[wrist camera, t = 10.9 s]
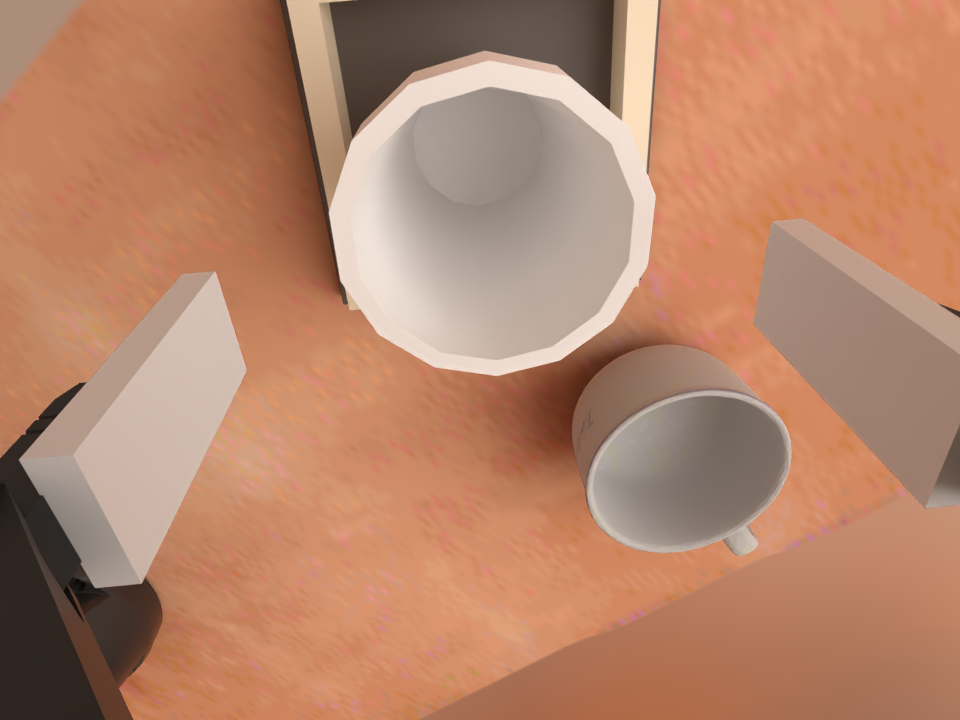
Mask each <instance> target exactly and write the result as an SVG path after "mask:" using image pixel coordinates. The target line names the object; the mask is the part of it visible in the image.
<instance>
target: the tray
mask: <svg viewBox="0 0 960 720" xmlns="http://www.w3.org/2000/svg"><path fill="white" fill-rule="evenodd" d="M280 2H281V7H282V12H283V17H284V21H285V26H286V31H287V36H288V41H289V45H290V50H291V55H292V60H293V65H294V69H295V74H296V79H297V84H298V89H299V93H300V98H301V103H302V108H303V113H304V117H305V122H306V127H307V132H308V137H309V141H310V146H311V151H312V156H313V161H314V165H315V170H316V175H317V180H318V185H319V189H320V194H321V199H322V204H323V209H324V213H325V218H326V223H327V228H328V232H329V237H330V242H331V247H332V252H333V256H334V261H335V266H336V271H337V276H338V280H339V285H340V290H341V295H342V300H343V304H348V305H349V310H361V309H360V308H359V307H358V305H357V304H356V302H355V301H354V300H353V298H352V297H351V295H350V294H349V293H348V291H347V290H346V288H345V287H344V286H343V284H342V283H341V281H340V276H339V270H338V264H337V258H336V253H335V247H334V241H333V235H332V229H331V223H330V217H329V210H330V207H331V204H332V201H333V197H334V194H335V191H336V188H337V185H338V182H339V179H340V175H341V172H342V169H343V166H344V163H345V160H346V157H347V153H348V150H349V147H350V144H351V141H352V139H353V137H354V136H355V134H356V132H357V131H358V129H359V127H360V126H361V124H362V123H363V122H364V121H365V120H366V119H367V118H368V117H369V116H370V115H371V114H372V113H373V112H374V111H375V110H376V109H377V108H378V107H379V106H380V105H381V104H382V103H383V102H384V101H385V100H386V99H387V98H388V97H389V96H390V95H391V94H392V93H393V92H394V91H395V90H396V89H397V88H398V87H399V86H400V85H401V84H402V83H403V82H404V81H405V80H406V79H407V78H408V77H409V76H410V75H411V74H412V73H413V72H415V71H419V70H422V69H425V68H429V67H432V66H435V65H439V64H442V63H445V62H448V61H452V60H455V59H458V58H462V57H465V56H468V55H472V54H475V53H478V52H482V51H489V52H494V53H499V54H504V55H508V56H513V57H518V58H523V59H528V60H532V61H537V62H542V63H547V64H552V65H557V66H558V67H559V68H560V69H561V70H563V71H564V72H565V73H566V74H567V75H568V76H570V77H571V78H572V79H573V80H574V81H576V82H577V83H578V84H579V85H580V86H581V87H583V88H584V89H585V90H586V91H587V92H588V93H590V94H591V95H592V96H593V97H594V98H595V99H597V100H598V101H599V102H600V103H601V104H602V105H604V106H605V107H606V108H607V109H608V110H610V111H611V112H612V113H613V114H614V115H615V116H617V117H618V118H619V119H620V120H621V121H622V122H624V123H625V124H626V125H627V126H628V127H629V128H630V130H631V133H632V135H633V138H634V140H635V143H636V146H637V148H638V151H639V154H640V156H641V159H642V161H643V164H644V167H645V169H646V172H647V175H648V171H649V157H650V143H651V129H652V115H653V101H654V87H655V73H656V59H657V45H658V31H659V17H660V3H661V0H280ZM639 280H641V278H640V279H639ZM638 285H639V281H638V282H637V284H636V286H635V287H638Z"/></svg>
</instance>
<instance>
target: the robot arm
mask: <svg viewBox="0 0 960 720" xmlns="http://www.w3.org/2000/svg"><path fill="white" fill-rule="evenodd" d="M753 324H754V325H755V326H756V328H757V329H758V330H759V331H760V332H761V333H762V334H763V335H764V336H765V337H766V338H767V339H768V340H769V342H770V343H771V344H772V345H773V346H774V347H775V348H776V349H777V350H778V351H779V352H780V353H781V354H782V355H783V357H784V358H785V359H786V360H787V361H788V362H789V363H790V364H791V365H792V366H793V367H794V368H795V369H796V370H797V372H798V373H799V374H800V375H801V376H802V377H803V378H804V379H805V380H806V381H807V382H808V383H809V384H810V385H811V387H812V388H813V389H814V390H815V391H816V392H817V393H818V394H819V395H820V396H821V397H822V398H823V399H824V401H825V402H826V403H827V404H828V405H829V406H830V407H831V408H832V409H833V410H834V411H835V412H836V413H837V414H838V416H839V417H840V418H841V419H842V420H843V421H844V422H845V423H846V424H847V425H848V426H849V427H850V428H851V429H852V431H853V432H854V433H855V434H856V435H857V436H858V437H859V438H860V439H861V440H862V441H863V442H864V443H865V445H866V446H867V447H868V448H869V449H870V450H871V451H872V452H873V453H874V454H875V455H876V456H877V457H878V458H879V460H880V461H881V462H882V463H883V464H884V465H885V466H886V467H887V468H888V469H889V470H890V471H891V472H892V473H893V475H894V476H895V477H896V478H897V479H898V480H899V481H900V482H901V483H902V484H903V485H904V486H905V487H906V489H907V490H908V491H909V492H910V493H911V494H912V495H913V496H914V497H915V498H916V499H917V500H918V501H919V502H920V503H921V504H922V506H923V507H924V508H935V507H945V506H955V505H960V312H959V311H957V310H954V309H951V308H948V307H946V306H943V305H940V304H938V303H936V302H934V301H933V300H931V299H929V298H928V297H926V296H925V295H923V294H922V293H920V292H918V291H917V290H915V289H914V288H912V287H911V286H909V285H907V284H906V283H904V282H903V281H901V280H900V279H898V278H896V277H895V276H893V275H892V274H890V273H889V272H887V271H885V270H884V269H882V268H881V267H879V266H878V265H876V264H875V263H873V262H871V261H870V260H868V259H867V258H865V257H864V256H862V255H860V254H859V253H857V252H856V251H854V250H853V249H851V248H849V247H848V246H846V245H845V244H843V243H842V242H840V241H838V240H837V239H835V238H834V237H832V236H831V235H829V234H827V233H826V232H824V231H823V230H821V229H820V228H818V227H816V226H815V225H813V224H812V223H810V222H809V221H807V220H805V219H804V218H803V219H791V220H780V221H772V222H771V228H770V233H769V239H768V245H767V250H766V256H765V261H764V267H763V273H762V278H761V284H760V289H759V295H758V301H757V306H756V312H755V318H754V323H753ZM246 371H247V370H246V366H245V363H244V360H243V357H242V354H241V351H240V347H239V344H238V341H237V338H236V335H235V332H234V328H233V325H232V322H231V319H230V316H229V313H228V309H227V306H226V303H225V300H224V297H223V294H222V290H221V287H220V284H219V281H218V278H217V275H216V271H210V272H199V273H187V274H182V275H181V276H180V277H179V278H178V280H177V281H176V282H175V283H174V284H173V285H172V286H171V288H170V289H169V290H168V291H167V292H166V293H165V294H164V295H163V297H162V298H161V299H160V300H159V301H158V302H157V303H156V305H155V306H154V307H153V308H152V309H151V310H150V311H149V313H148V314H147V315H146V316H145V317H144V318H143V319H142V320H141V322H140V323H139V324H138V325H137V326H136V327H135V328H134V330H133V331H132V332H131V333H130V334H129V335H128V336H127V337H126V339H125V340H124V341H123V342H122V343H121V344H120V345H119V347H118V348H117V349H116V350H115V351H114V352H113V353H112V355H111V356H110V357H109V358H108V359H107V360H106V361H105V362H104V364H103V365H102V366H101V367H100V368H99V369H98V370H97V372H96V373H95V374H94V375H93V376H92V377H91V378H90V379H89V381H88V382H86V383H79V384H78V385H76V386H74V387H73V388H71V389H70V390H68V391H67V392H65V393H64V394H62V395H61V396H59V397H58V398H56V399H55V400H54V401H53V402H52V403H51V404H50V405H49V406H48V407H47V408H46V410H45V411H44V412H43V413H42V414H41V415H40V416H39V420H35V421H34V423H33V424H32V425H31V426H30V427H29V428H28V429H27V430H26V435H22V436H21V437H20V438H19V439H18V440H17V441H16V442H15V443H14V444H13V445H12V446H11V447H10V449H9V450H8V451H7V452H6V453H5V454H4V455H3V456H2V457H1V458H0V720H133V718H132V716H131V714H130V712H129V710H128V707H127V705H126V703H125V701H124V699H123V697H122V695H121V692H120V690H119V688H120V686H121V685H122V684H123V683H124V681H125V680H126V679H127V678H128V677H129V676H130V675H131V674H132V673H133V672H134V671H135V670H136V669H137V668H138V667H139V666H140V665H141V664H142V663H143V661H144V660H145V658H146V657H147V655H148V653H149V651H150V649H151V647H152V645H153V642H154V640H155V638H156V636H157V634H158V631H159V629H160V626H161V622H162V609H161V604H160V602H159V599H158V597H157V595H156V593H155V591H154V590H153V588H152V587H151V585H150V584H149V583H148V582H147V581H146V579H145V576H146V574H147V572H148V570H149V568H150V566H151V564H152V562H153V560H154V558H155V555H156V553H157V551H158V549H159V547H160V545H161V543H162V541H163V539H164V537H165V535H166V533H167V531H168V529H169V527H170V525H171V523H172V521H173V519H174V517H175V515H176V513H177V511H178V509H179V507H180V505H181V503H182V501H183V499H184V497H185V495H186V493H187V491H188V489H189V487H190V485H191V483H192V481H193V479H194V476H195V474H196V472H197V470H198V468H199V466H200V464H201V462H202V460H203V458H204V456H205V454H206V452H207V450H208V448H209V446H210V444H211V442H212V440H213V438H214V436H215V434H216V432H217V430H218V428H219V426H220V424H221V422H222V420H223V418H224V416H225V414H226V412H227V410H228V408H229V406H230V404H231V402H232V399H233V397H234V395H235V393H236V391H237V389H238V387H239V385H240V383H241V381H242V379H243V377H244V375H245V373H246Z"/></svg>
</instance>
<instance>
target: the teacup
mask: <svg viewBox="0 0 960 720" xmlns="http://www.w3.org/2000/svg"><path fill="white" fill-rule="evenodd" d="M572 441H573V448H574V452H575V457H576V461H577V465H578V468H579V472H580V475H581V479H582V482H583V485H584V488H585V495H586V501H587V505H588V508H589V510H590V513H591V515H592V517H593V518H594V520H595V522H596V523H597V524H598V526H599V527H600V528H601V530H602V531H604V532H605V533H606V534H607V535H608V536H610V537H612V538H613V539H614V540H617V541H618V542H619V543H621V544H624V545H626V546H628V547H631V548H633V549H637V550H641V551H648V552H656V553H672V552H683V551H688V550H692V549H697V548H700V547H703V546H706V545H709V544H712V543H714V542H718V541H720V540H723V541H724V542H725V544H726V545H727V546H728V548H729V549H730V550H731V551H732V552H733V553H734V554H735V555H737V556H742V555H746V554H747V553H749V552H751V551H753V550H754V549H755V548H756V547H757V546H758V540H757V538H756V535H755V534H754V532H753V530H752V529H751V527H750V525H749V524H750V523H751V522H752V521H753V520H754V519H756V518H757V517H758V516H759V515H760V514H761V513H762V512H763V511H764V510H765V509H766V508H767V507H768V506H769V505H770V504H771V503H772V502H773V501H774V499H775V498H776V496H777V495H778V494H779V492H780V490H781V488H782V486H783V484H784V482H785V480H786V478H787V475H788V472H789V468H790V464H791V455H792V454H791V442H790V436H789V434H788V431H787V428H786V426H785V424H784V422H783V421H782V419H781V418H780V417H779V415H778V414H777V413H776V412H775V411H774V410H773V409H772V408H771V407H770V406H768V405H767V404H766V403H764V402H763V401H762V400H761V399H760V398H759V397H758V396H757V395H756V393H755V392H754V391H753V390H752V389H751V388H750V387H749V386H748V385H747V384H746V383H745V382H744V381H743V380H742V379H741V378H740V377H739V376H738V375H737V374H736V373H735V372H734V371H733V370H732V369H731V368H729V367H728V366H727V365H726V364H725V363H723V362H722V361H721V360H719V359H718V358H716V357H714V356H713V355H711V354H709V353H707V352H704V351H702V350H700V349H696V348H693V347H689V346H684V345H676V344H660V345H653V346H647V347H643V348H639V349H636V350H633V351H631V352H628V353H626V354H624V355H622V356H620V357H618V358H616V359H615V360H613V361H612V362H610V363H609V364H607V365H606V366H605V367H604V368H602V369H601V370H600V371H599V372H598V373H597V374H596V375H595V376H594V377H593V378H592V379H591V380H590V382H589V383H588V384H587V386H586V387H585V389H584V390H583V392H582V394H581V396H580V398H579V400H578V402H577V405H576V408H575V411H574V416H573V422H572Z"/></svg>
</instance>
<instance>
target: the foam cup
mask: <svg viewBox="0 0 960 720" xmlns="http://www.w3.org/2000/svg"><path fill="white" fill-rule="evenodd" d="M655 199H656V196H655V193H654V190H653V188H652V185H651V183H650V180H649V177H648V175H647V172H646V169H645V167H644V164H643V161H642V159H641V156H640V154H639V151H638V148H637V146H636V143H635V140H634V138H633V135H632V133H631V130H630V128H629V127H628V126H627V125H626V124H625V123H624V122H622V121H621V120H620V119H619V118H618V117H617V116H615V115H614V114H613V113H612V112H611V111H610V110H608V109H607V108H606V107H605V106H604V105H602V104H601V103H600V102H599V101H598V100H597V99H595V98H594V97H593V96H592V95H591V94H590V93H588V92H587V91H586V90H585V89H584V88H583V87H581V86H580V85H579V84H578V83H577V82H576V81H574V80H573V79H572V78H571V77H570V76H568V75H567V74H566V73H565V72H564V71H563V70H561V69H560V68H559V67H558V66H557V65H552V64H547V63H542V62H537V61H532V60H528V59H523V58H518V57H513V56H508V55H504V54H499V53H494V52H489V51H482V52H478V53H475V54H472V55H468V56H465V57H462V58H458V59H455V60H452V61H448V62H445V63H442V64H439V65H435V66H432V67H429V68H425V69H422V70H419V71H415V72H413V73H412V74H411V75H410V76H409V77H408V78H407V79H406V80H405V81H404V82H403V83H402V84H401V85H400V86H399V87H398V88H397V89H396V90H395V91H394V92H393V93H392V94H391V95H390V96H389V97H388V98H387V99H386V100H385V101H384V102H383V103H382V104H381V105H380V106H379V107H378V108H377V109H376V110H375V111H374V112H373V113H372V114H371V115H370V116H369V117H368V118H367V119H366V120H365V121H364V122H363V123H362V124H361V126H360V127H359V129H358V131H357V132H356V134H355V136H354V137H353V139H352V141H351V144H350V147H349V150H348V153H347V157H346V160H345V163H344V166H343V169H342V172H341V175H340V179H339V182H338V185H337V188H336V191H335V194H334V197H333V201H332V204H331V207H330V210H329V217H330V223H331V229H332V235H333V241H334V247H335V253H336V258H337V264H338V270H339V276H340V281H341V283H342V284H343V286H344V287H345V288H346V290H347V291H348V293H349V294H350V295H351V297H352V298H353V300H354V301H355V302H356V304H357V305H358V307H359V308H360V309H361V311H362V312H363V314H364V315H365V316H366V318H367V319H368V321H369V322H370V323H371V325H372V326H373V328H374V329H375V330H376V332H377V333H378V334H379V335H380V336H381V337H383V338H385V339H387V340H388V341H390V342H392V343H393V344H395V345H397V346H399V347H400V348H402V349H404V350H405V351H407V352H409V353H411V354H412V355H414V356H416V357H417V358H419V359H421V360H423V361H424V362H426V363H428V364H429V365H431V366H433V367H436V368H443V369H450V370H458V371H465V372H472V373H480V374H487V375H494V376H499V375H503V374H507V373H511V372H515V371H519V370H524V369H528V368H532V367H536V366H540V365H544V364H548V363H552V362H556V361H560V360H561V359H563V358H564V357H565V356H567V355H568V354H570V353H571V352H572V351H574V350H575V349H577V348H578V347H579V346H581V345H582V344H584V343H585V342H586V341H588V340H589V339H591V338H592V337H593V336H595V335H596V334H598V333H599V332H600V331H602V330H603V329H605V328H606V327H607V326H609V325H610V324H612V323H613V322H614V320H615V318H616V317H617V315H618V313H619V312H620V310H621V309H622V307H623V305H624V304H625V302H626V300H627V299H628V297H629V295H630V294H631V292H632V291H633V289H634V287H635V286H636V284H637V282H638V281H639V279H640V278H641V276H642V274H643V273H644V271H645V269H646V268H647V266H648V260H649V251H650V242H651V234H652V225H653V216H654V207H655Z"/></svg>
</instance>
